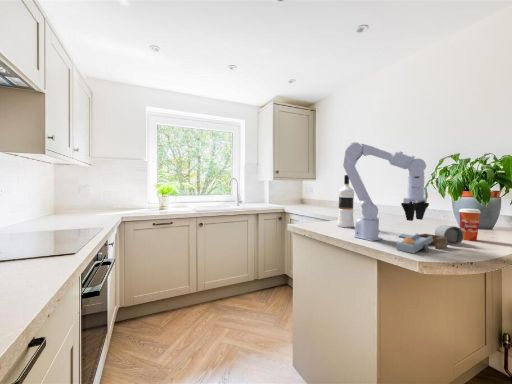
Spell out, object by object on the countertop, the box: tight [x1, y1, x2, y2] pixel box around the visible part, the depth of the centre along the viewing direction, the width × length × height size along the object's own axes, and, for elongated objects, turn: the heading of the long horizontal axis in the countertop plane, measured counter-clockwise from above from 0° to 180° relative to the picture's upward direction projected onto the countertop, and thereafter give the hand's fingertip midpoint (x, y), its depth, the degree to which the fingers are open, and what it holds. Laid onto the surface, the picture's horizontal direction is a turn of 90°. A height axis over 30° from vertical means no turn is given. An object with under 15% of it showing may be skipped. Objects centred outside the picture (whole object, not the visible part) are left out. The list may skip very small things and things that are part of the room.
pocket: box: [418, 233, 448, 250], centre depth 99 cm, size 8×7×4 cm
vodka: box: [336, 174, 355, 229], centre depth 142 cm, size 9×9×30 cm
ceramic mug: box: [434, 224, 464, 246], centre depth 105 cm, size 11×8×8 cm
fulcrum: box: [417, 244, 429, 253], centre depth 93 cm, size 8×2×3 cm, turn 30°
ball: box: [402, 237, 414, 245], centre depth 91 cm, size 4×4×4 cm
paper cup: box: [458, 208, 482, 242], centre depth 111 cm, size 8×8×14 cm
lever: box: [395, 233, 433, 255], centre depth 95 cm, size 12×14×3 cm
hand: (414, 219), depth 103 cm, fingers open, 7 cm apart
